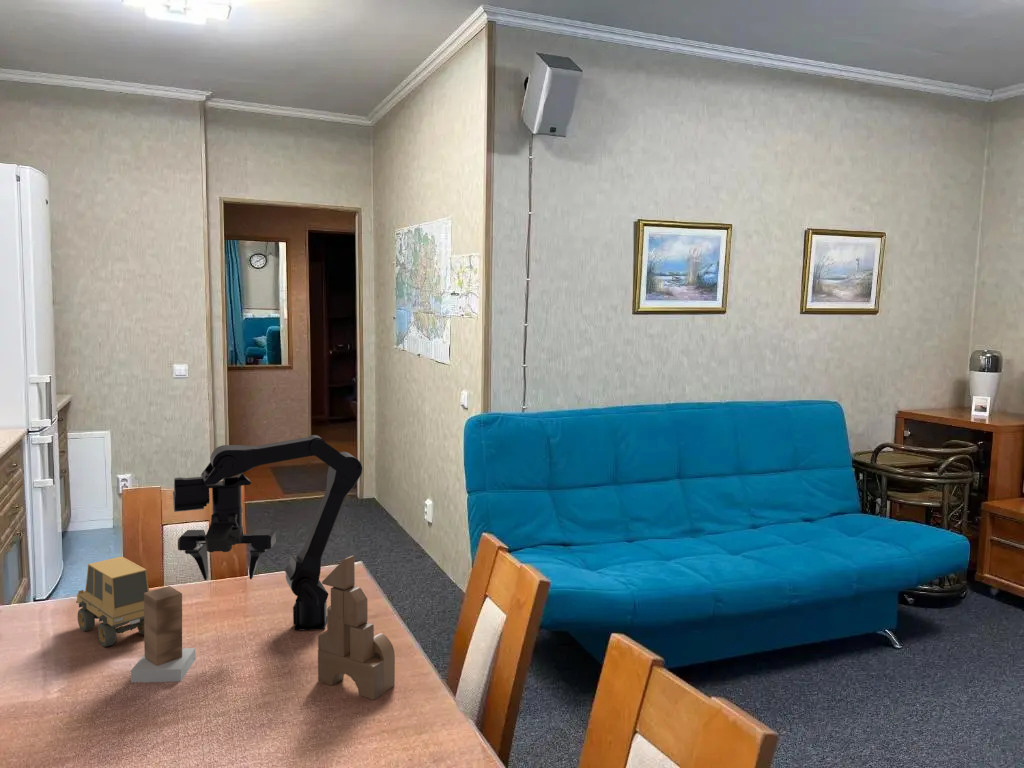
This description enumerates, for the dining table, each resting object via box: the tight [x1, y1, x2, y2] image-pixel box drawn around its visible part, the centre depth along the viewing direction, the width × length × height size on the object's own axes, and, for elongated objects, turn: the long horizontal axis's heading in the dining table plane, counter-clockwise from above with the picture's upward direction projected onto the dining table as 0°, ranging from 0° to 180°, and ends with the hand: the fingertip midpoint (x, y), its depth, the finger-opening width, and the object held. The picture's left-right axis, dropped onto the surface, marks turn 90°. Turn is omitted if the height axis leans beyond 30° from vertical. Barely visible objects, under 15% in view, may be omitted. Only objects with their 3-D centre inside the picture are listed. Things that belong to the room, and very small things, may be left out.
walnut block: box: [143, 585, 183, 666], centre depth 152 cm, size 5×5×13 cm
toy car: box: [75, 556, 150, 648], centre depth 168 cm, size 10×19×15 cm, turn 48°
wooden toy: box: [317, 555, 396, 701], centre depth 147 cm, size 15×7×25 cm, turn 60°
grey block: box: [130, 647, 197, 684], centre depth 152 cm, size 9×9×3 cm
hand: (228, 579), depth 165 cm, fingers open, 9 cm apart
